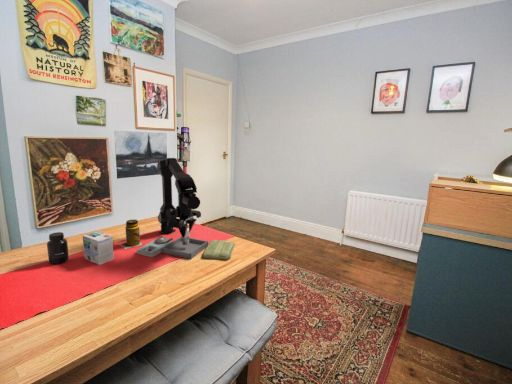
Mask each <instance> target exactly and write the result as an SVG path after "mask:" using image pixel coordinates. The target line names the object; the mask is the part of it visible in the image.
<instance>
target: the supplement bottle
mask: <svg viewBox="0 0 512 384" xmlns="http://www.w3.org/2000/svg"><path fill="white" fill-rule="evenodd" d="M47 241H48V242H47V243H46V251H47V257H48V263H49V264H50V265H61V264H64V263H66V262H68V261H69V259H70V256H69V255H70V254H69V246H68V245H69V244H68V240H67V239H66V238H65V235H64V232H62V231H61V232H60V231H58V232H53V233H50V234H49V235H48V240H47Z"/></svg>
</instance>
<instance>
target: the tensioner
mask: <svg viewBox="0 0 512 384" xmlns="http://www.w3.org/2000/svg"><path fill="white" fill-rule="evenodd" d="M172 241H174V239H173V237H170V238H168V237H164V236H162V235H161V236H159V237H157V238H155V239H154V240H152V241H150V242H148V243H146V244H145V245H142V246H141V247H139V248H137V249H136V253H137V255H142V256H146V257H150V258H153V257H156V256H157V255H158V254H160V253H162V248H163V247H164V246H166V245H168V244H170V243H171V242H172Z"/></svg>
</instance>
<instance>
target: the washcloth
mask: <svg viewBox="0 0 512 384" xmlns="http://www.w3.org/2000/svg"><path fill="white" fill-rule="evenodd" d="M235 245H236V243H235V242H234V241H227V240H223V239H222V240H216V239H212V240H210V241H208V246H207V247H206V248H205V249H204V251H203V255H202V257H203V258H204V259H212V260H213V259H220V260H225V261H226V260H229V259H231V257H232V252H233V249H234V247H235Z"/></svg>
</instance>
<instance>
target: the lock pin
mask: <svg viewBox="0 0 512 384" xmlns="http://www.w3.org/2000/svg"><path fill="white" fill-rule="evenodd" d="M186 224H188V226H187V230H186V234H185V237H182V244H183V245H189V244H190V240H189V238H190V233H189V223H186Z"/></svg>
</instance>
